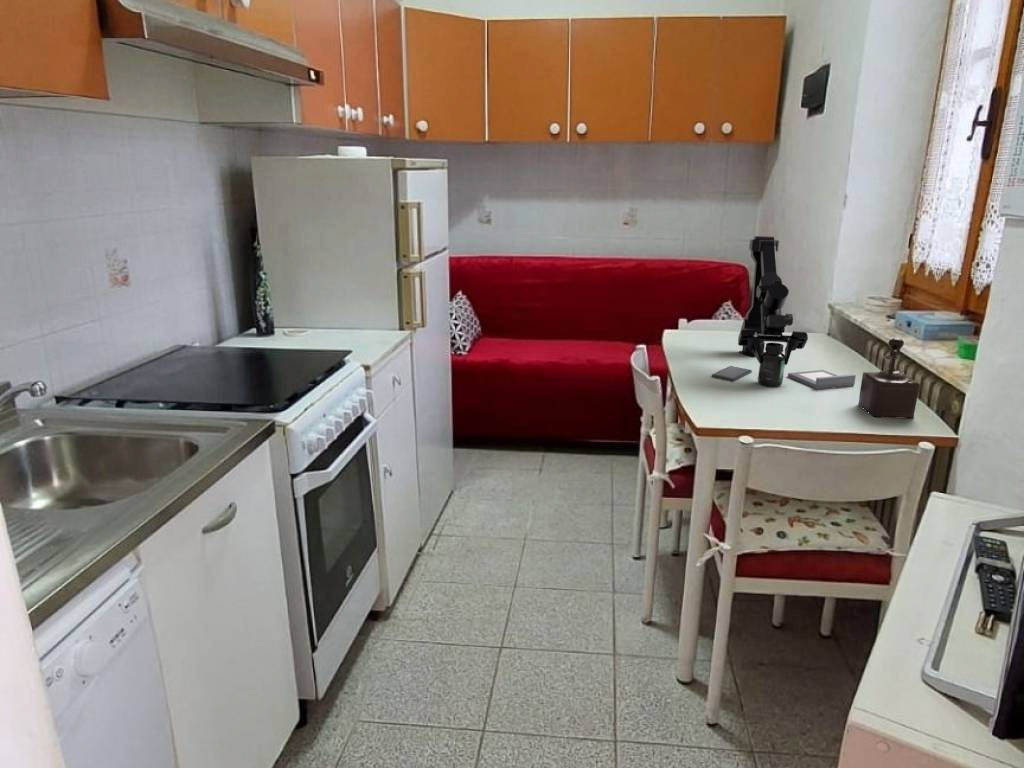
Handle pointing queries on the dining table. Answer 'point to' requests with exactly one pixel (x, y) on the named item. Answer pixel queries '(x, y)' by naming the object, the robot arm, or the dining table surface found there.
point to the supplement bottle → (772, 365)
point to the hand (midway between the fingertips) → (773, 363)
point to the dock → (822, 379)
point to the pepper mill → (889, 389)
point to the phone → (732, 373)
